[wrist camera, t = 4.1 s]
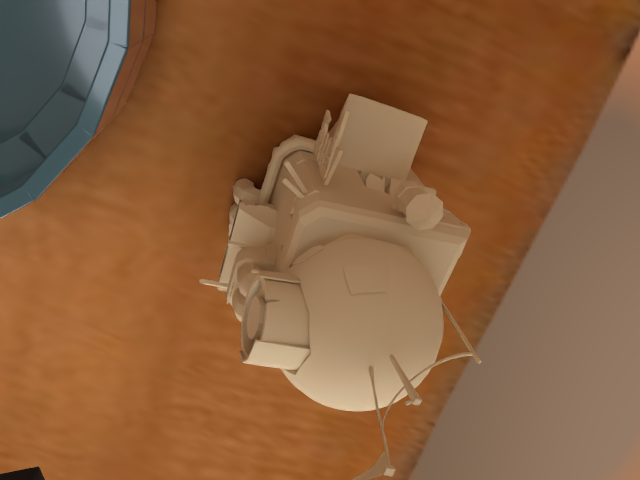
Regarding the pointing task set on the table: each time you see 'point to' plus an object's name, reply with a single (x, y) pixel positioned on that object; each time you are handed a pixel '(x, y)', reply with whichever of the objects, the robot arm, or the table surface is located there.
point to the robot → (344, 264)
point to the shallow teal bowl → (62, 83)
